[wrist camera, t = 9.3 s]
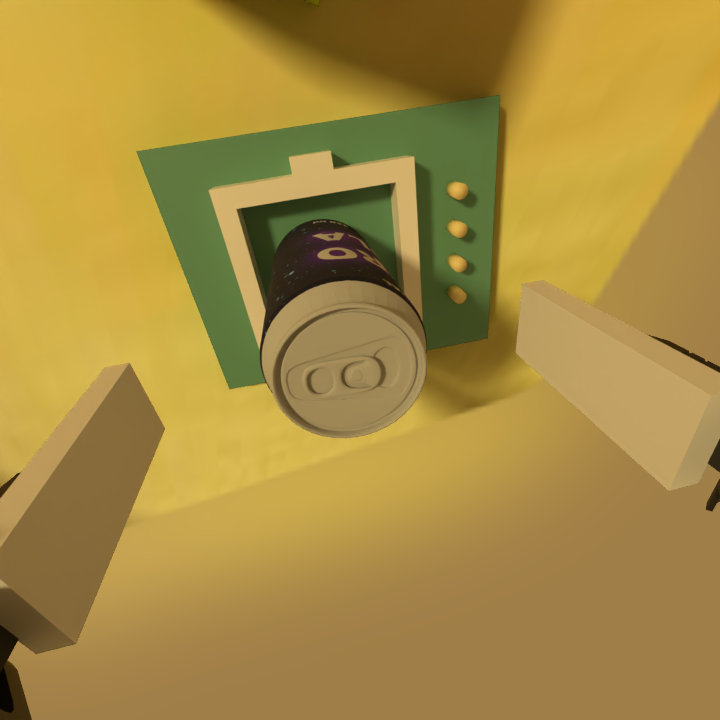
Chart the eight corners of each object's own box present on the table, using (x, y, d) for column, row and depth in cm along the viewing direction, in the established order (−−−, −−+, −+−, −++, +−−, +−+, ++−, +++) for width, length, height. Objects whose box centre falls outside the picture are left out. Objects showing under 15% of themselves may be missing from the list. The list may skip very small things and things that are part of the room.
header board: (232, 379, 26) (226, 402, 24) (145, 151, 19) (124, 152, 16) (480, 330, 27) (497, 348, 25) (489, 97, 20) (515, 91, 17)
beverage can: (374, 305, 23) (438, 431, 13) (284, 318, 23) (278, 460, 13) (366, 209, 21) (440, 276, 10) (263, 223, 20) (233, 308, 10)
